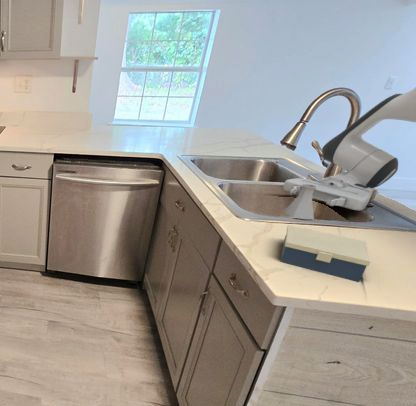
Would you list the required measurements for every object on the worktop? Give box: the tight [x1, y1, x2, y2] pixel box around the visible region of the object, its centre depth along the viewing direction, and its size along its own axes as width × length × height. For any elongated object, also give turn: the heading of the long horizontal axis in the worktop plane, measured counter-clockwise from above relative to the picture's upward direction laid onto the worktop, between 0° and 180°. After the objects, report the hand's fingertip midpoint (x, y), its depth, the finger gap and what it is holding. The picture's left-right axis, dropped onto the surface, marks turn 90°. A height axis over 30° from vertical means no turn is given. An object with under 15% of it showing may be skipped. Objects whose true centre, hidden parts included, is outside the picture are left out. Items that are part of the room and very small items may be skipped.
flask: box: [284, 184, 316, 220], centre depth 111 cm, size 7×7×10 cm
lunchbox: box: [280, 224, 371, 283], centre depth 89 cm, size 14×12×6 cm
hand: (310, 197), depth 112 cm, fingers open, 8 cm apart
